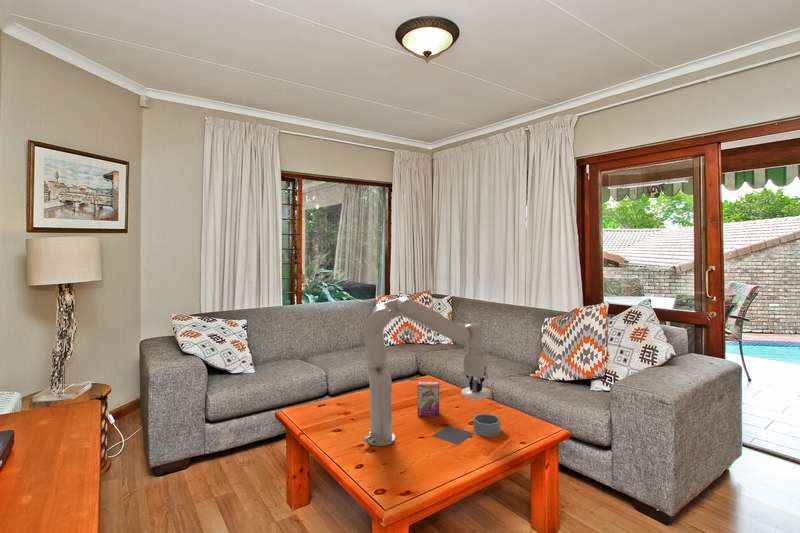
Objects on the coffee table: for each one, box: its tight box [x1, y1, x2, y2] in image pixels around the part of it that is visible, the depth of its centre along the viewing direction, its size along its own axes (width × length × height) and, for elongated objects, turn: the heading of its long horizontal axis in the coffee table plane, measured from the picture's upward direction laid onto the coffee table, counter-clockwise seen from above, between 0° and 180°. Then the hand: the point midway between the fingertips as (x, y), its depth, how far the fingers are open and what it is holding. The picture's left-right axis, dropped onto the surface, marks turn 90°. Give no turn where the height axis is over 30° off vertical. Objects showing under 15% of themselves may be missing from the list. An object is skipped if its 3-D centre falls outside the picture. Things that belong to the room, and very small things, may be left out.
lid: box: [461, 379, 491, 400], centre depth 189 cm, size 13×13×6 cm
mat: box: [431, 425, 476, 446], centre depth 188 cm, size 14×14×1 cm
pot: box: [472, 413, 501, 438], centre depth 191 cm, size 12×12×6 cm
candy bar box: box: [417, 381, 440, 417], centre depth 212 cm, size 11×5×16 cm, turn 84°
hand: (475, 390), depth 189 cm, fingers closed on lid, 3 cm apart
